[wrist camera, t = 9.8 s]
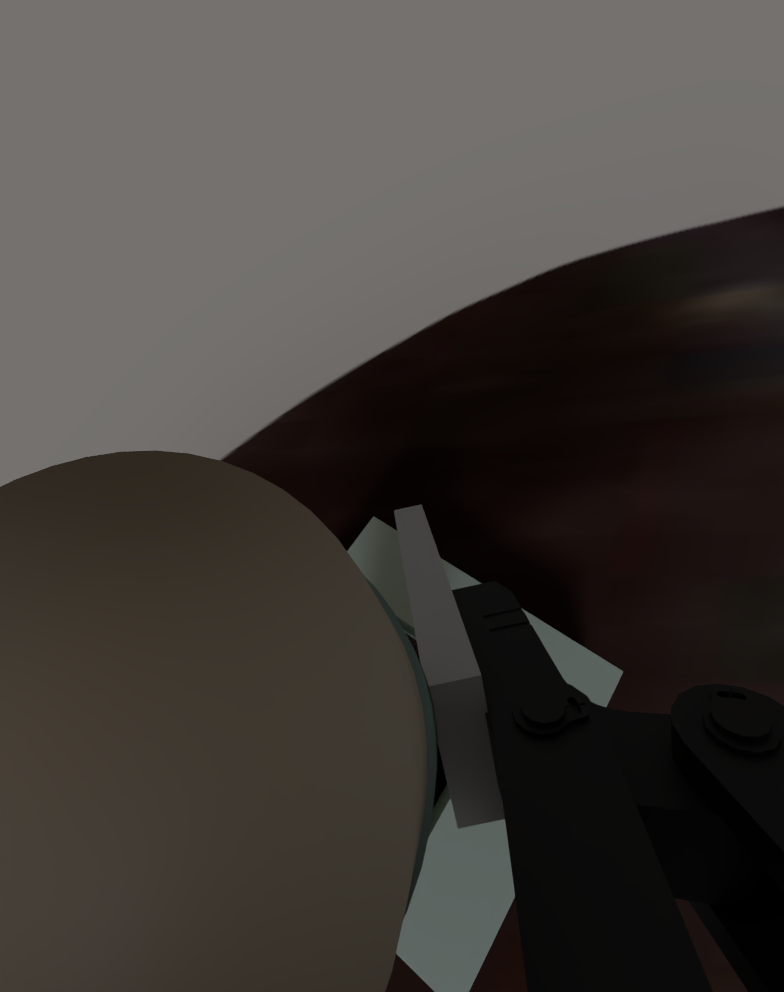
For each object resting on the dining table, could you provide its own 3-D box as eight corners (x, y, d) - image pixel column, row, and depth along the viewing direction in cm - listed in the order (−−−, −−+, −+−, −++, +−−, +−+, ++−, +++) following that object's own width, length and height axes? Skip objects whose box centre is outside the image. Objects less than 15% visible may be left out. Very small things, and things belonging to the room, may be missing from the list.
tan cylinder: (399, 646, 16) (191, 352, 3) (463, 725, 15) (618, 851, 2) (327, 711, 16) (-382, 719, 2) (387, 799, 14) (-417, 2056, 1)
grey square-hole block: (386, 549, 24) (373, 516, 20) (587, 679, 20) (623, 671, 16) (245, 745, 20) (195, 754, 16) (455, 941, 17) (457, 1014, 13)
